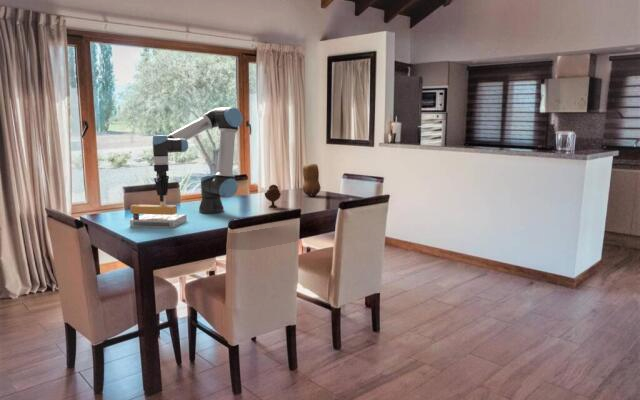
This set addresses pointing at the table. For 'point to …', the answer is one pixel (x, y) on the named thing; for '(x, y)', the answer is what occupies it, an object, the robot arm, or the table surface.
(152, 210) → the long orange block
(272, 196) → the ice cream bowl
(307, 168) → the butternut squash
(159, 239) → the table surface
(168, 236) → the table surface
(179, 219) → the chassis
